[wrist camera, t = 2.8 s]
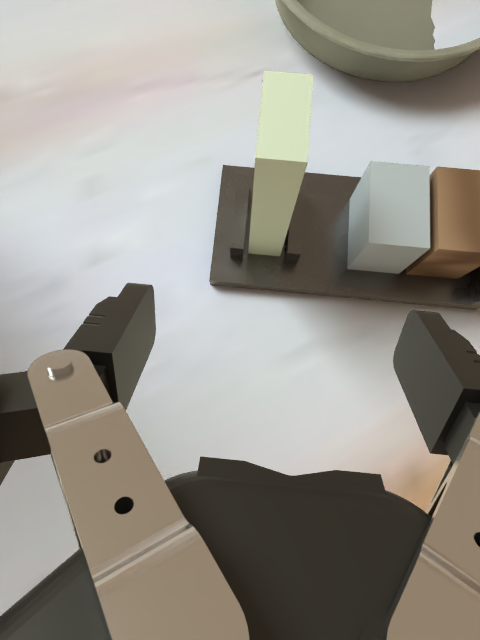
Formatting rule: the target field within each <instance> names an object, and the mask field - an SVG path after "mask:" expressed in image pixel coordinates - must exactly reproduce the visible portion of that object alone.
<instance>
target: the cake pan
mask: <svg viewBox="0 0 480 640" xmlns="http://www.w3.org/2000/svg"><path fill="white" fill-rule="evenodd" d="M276 5H277V8H278V11H279V14H280V16H281V18H282V20H283V22H284V24H285V26H286V27H287V29H288V30H289V32H290V33H291V35H292V36H293V37H294V38H295V40H296V41H297V42H298V43H299V44H300V45H301V46H302V47H303V48H304V49H306V50H307V51H308V52H309V53H310V54H312V55H313V56H314V57H316V58H317V59H319V60H320V61H322V62H323V63H325V64H327V65H329V66H331V67H333V68H335V69H337V70H339V71H342V72H344V73H347V74H350V75H353V76H356V77H360V78H365V79H369V80H376V81H386V82H404V81H413V80H419V79H424V78H428V77H431V76H434V75H437V74H440V73H443V72H445V71H447V70H449V69H451V68H453V67H454V66H456V65H458V64H459V63H461V62H462V61H464V60H465V59H466V58H468V57H469V56H470V55H471V54H472V53H473V52H475V51H477V50H479V49H480V38H478V39H476V40H474V41H471V42H468V43H466V44H462V45H459V46H455V47H450V48H444V49H437V50H434V43H435V39H434V37H433V32H434V28H435V26H434V24H433V21H432V19H431V6H432V0H276Z"/></svg>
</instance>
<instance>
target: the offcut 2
mask: <svg viewBox="0 0 480 640" xmlns="http://www.w3.org/2000/svg"><path fill="white" fill-rule="evenodd" d="M429 183H430V249H429V250H428V251H426V252H425V253H424V254H423V255H421V256H420V257H419V258H418V259H417V260H415V261H414V262H413V263H412V264H410V265H409V266H408V267H407V268H406V274H409V275H420V276H431V277H441V278H452V279H458V278H460V277H462V276H464V275H465V274H467V273H469V272H471V271H472V270H474V269H476V268H478V267H479V266H480V170H469V169H458V168H447V167H437V168H436V169H435V170H434V171H433V172H432V174H431V175H430V176H429Z"/></svg>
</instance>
